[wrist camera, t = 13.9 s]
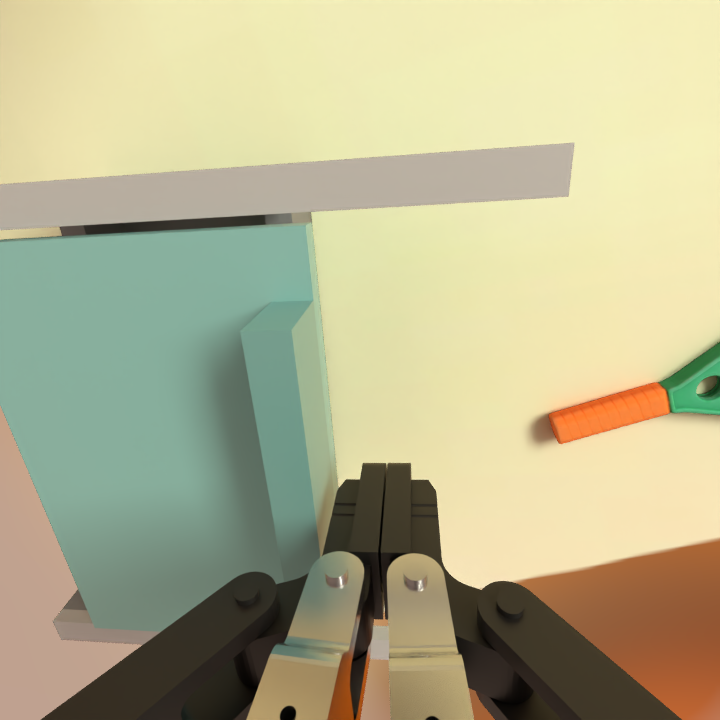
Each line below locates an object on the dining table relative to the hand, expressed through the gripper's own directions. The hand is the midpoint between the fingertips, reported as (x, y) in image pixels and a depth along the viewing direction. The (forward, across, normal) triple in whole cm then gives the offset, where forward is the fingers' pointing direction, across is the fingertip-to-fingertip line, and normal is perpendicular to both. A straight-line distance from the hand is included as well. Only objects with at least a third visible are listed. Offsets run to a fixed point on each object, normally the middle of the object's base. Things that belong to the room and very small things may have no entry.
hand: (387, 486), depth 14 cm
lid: (+1, +7, 0) cm, 7 cm away
